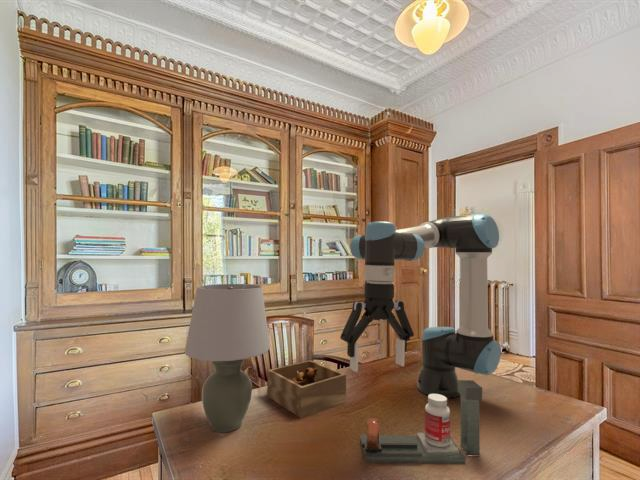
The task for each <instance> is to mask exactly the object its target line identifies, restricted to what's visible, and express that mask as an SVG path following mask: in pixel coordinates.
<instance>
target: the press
mask: <svg viewBox="0 0 640 480" xmlns="http://www.w3.org/2000/svg"><path fill="white" fill-rule="evenodd" d="M458 392H459V393H460V448H461V447H462V448H463V449H462V448H461V449H462V451H463V452H464V451H465V452H466V453H465V452H464V453H465V454H466V456H467V455H480V454H481V452H480V449H481V448H480V446H481V445H480V439H481V437H480V431H481V430H480V401H483V387H482V386H480V385H479V384H478V383H477V382H476V381H475V380H469V379H467V380H465V379H462V380H461V379H458ZM360 443H361V448H362V452H363V453H362V454H363V457H364V461H365V463H376V464H378V463H384V464H385V463H386V464H387V463H388V464H390V463H391V464H394V463H395V464H396V463H397V464H398V463H399V464H466V456H465V455H464V454H463V452H462V451H461V450H460V448H459V447H458V445H457V444H456V442H455V441H454V440H453V439H452V437H451V436H450V444H449V445H448V446H446V447H437V446H434V445H431V444H429V443H428V442H427V441H426V439H425V432H416V434H415V435H411V434H409V435H408V434H407V435H403V434H400V435H399V434H394V435H393V434H379V443H380V445H381V448H382V452H379V451H365V449H364V443H367V434H360ZM480 456H481V455H480Z"/></svg>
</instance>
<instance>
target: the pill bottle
mask: <svg viewBox="0 0 640 480" xmlns="http://www.w3.org/2000/svg"><path fill="white" fill-rule="evenodd" d="M427 402H428V403H426V405H425V406H424V433H425V439H426V441H427V442H428V443H429V444H431V445H434V446H437V447H446V446H448V445H449V444H450V437H451V409H450V407H449V406H447V405H448V398H446V397H445V396H443V395H440V394H429V395H428V396H427Z"/></svg>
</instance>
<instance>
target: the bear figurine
mask: <svg viewBox="0 0 640 480" xmlns="http://www.w3.org/2000/svg"><path fill="white" fill-rule="evenodd" d="M316 371H317V368H316V367H315V369H313V368H308V367H307V368H306V369H305V372H304V373H303V372H299V373H298V371H297V379H296V378H293V379H292V381H293V382H295V383H297V384H299V385H301V386H305V385H308V384H312V383H315V379H314V377H315V375H316Z"/></svg>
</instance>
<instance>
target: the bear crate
mask: <svg viewBox="0 0 640 480" xmlns="http://www.w3.org/2000/svg"><path fill="white" fill-rule="evenodd" d="M307 367H308V368H313V369H315V367H316V368H317V371H316V375H315V377H314V379H315V383H312V384H308V385H305V386H301V385H299V384H297V383H295V382H293V381H292V379H293V378H296V379H297V371H298V373H299V372H303V373H304V372H305V369H306V368H307ZM266 381H267V384H266V385H267V386H266V387H267V388H266V397H268V398H269V399H270V400H273V401H274V402H276V403H277V404H279V405H280V406H282V407H283V408H284V409H286V410H287V411H289V412H291V413H292V414H294V415H295V416H297V417H298V418H300V419H302V418H305V417H308V416H310V415H313V414H315V413H319V412H322V411H324V410H327V409H329V408H332V407H335V406H338V405H341V404H344V403H346V402H347V374H346V373H343V372H341V371H338V370H336V369H333V368H331V367H329V366H325V365H323V364H321V363H318V362H317V361H314V360H311V359H309V360H305V361H300V362H296V363H292V364H287V365H283V366H279V367H274V368H271V369H267V380H266Z"/></svg>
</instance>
